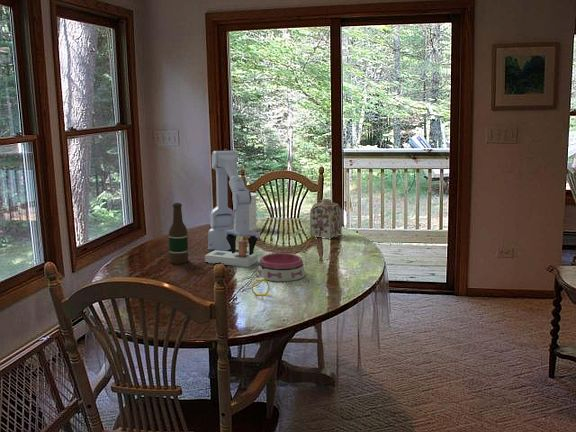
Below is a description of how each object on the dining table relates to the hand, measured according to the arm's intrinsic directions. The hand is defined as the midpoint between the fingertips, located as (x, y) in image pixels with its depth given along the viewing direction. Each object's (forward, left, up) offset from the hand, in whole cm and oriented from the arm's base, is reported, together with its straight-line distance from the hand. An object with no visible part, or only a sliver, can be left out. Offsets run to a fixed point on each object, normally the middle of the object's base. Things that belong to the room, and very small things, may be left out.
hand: (242, 253), depth 241 cm
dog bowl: (+20, -10, -4) cm, 23 cm away
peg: (0, 0, -4) cm, 4 cm away
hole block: (-5, 0, -4) cm, 6 cm away
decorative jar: (+18, +59, -4) cm, 62 cm away
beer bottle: (-25, -7, -4) cm, 26 cm away
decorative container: (-24, +60, -4) cm, 65 cm away
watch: (+22, -35, -4) cm, 42 cm away
